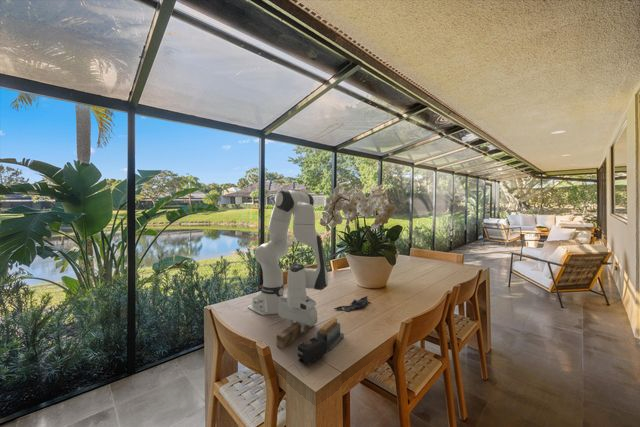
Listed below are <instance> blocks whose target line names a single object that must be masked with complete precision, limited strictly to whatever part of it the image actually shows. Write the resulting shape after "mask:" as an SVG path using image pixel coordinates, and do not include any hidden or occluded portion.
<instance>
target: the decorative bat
mask: <svg viewBox="0 0 640 427" xmlns="http://www.w3.org/2000/svg"><path fill="white" fill-rule="evenodd" d="M366 304H370V302H369V300H368V295H367V296H364V297H361V298H360V299H359V300H357V299H354V300H352V301H351V303H350V304H349V305H343V306H342V305H340V306H338V307H335V308H333V309H334V310H337V311H343V312H349V311H350V310H355V309H356V308H357V309H361V308H363V306H365V305H366Z"/></svg>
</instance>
